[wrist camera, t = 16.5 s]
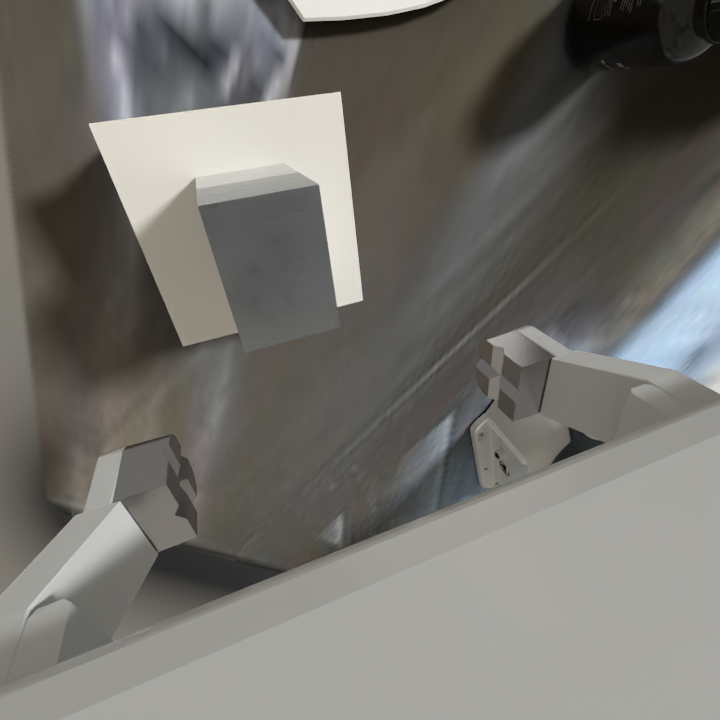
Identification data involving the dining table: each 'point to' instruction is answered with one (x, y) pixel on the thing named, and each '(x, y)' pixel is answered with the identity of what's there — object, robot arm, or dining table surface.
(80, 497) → the dining table surface
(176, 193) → the stand
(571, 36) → the supplement bottle
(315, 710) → the robot arm
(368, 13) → the plate
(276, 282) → the block
